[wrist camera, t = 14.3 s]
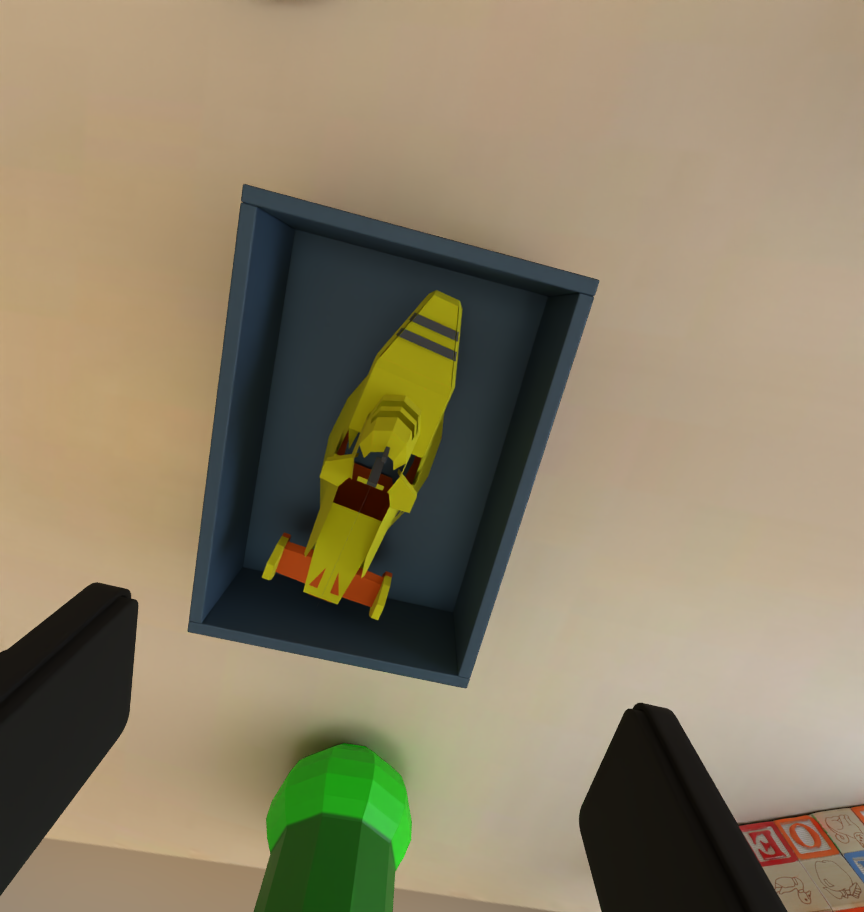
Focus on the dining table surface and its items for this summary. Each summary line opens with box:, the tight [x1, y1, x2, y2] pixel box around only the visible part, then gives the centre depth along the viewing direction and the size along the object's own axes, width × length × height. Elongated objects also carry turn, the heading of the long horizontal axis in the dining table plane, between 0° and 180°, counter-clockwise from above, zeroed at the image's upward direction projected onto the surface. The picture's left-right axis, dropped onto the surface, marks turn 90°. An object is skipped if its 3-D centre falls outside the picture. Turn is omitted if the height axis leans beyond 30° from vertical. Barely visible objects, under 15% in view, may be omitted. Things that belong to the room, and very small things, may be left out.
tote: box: [188, 184, 599, 688], centre depth 27 cm, size 22×15×7 cm
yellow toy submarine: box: [262, 290, 462, 620], centre depth 24 cm, size 6×18×10 cm, turn 156°
